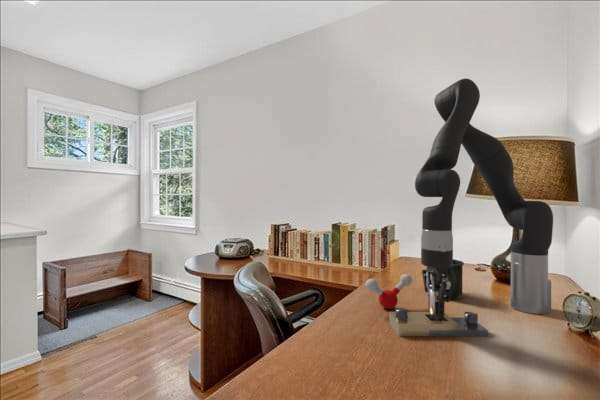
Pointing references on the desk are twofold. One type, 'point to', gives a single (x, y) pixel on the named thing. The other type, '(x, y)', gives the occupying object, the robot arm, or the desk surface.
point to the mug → (456, 278)
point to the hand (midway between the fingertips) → (436, 313)
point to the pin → (433, 306)
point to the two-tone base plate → (434, 324)
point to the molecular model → (388, 291)
